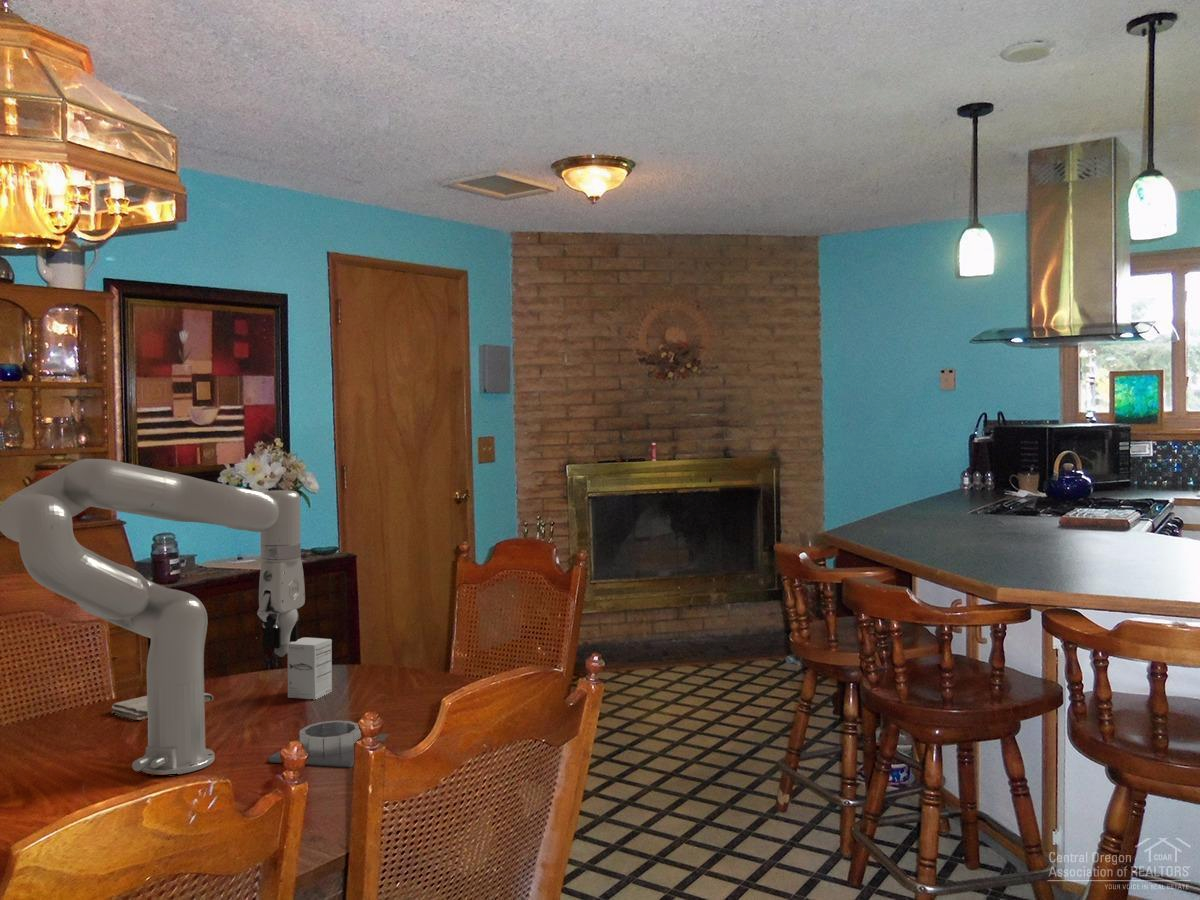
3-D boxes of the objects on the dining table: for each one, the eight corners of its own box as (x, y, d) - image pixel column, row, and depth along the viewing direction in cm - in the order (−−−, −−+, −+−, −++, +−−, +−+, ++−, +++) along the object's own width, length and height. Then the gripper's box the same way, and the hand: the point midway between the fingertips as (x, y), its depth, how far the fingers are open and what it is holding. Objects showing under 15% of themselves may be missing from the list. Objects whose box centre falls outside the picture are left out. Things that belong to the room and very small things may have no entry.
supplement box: (286, 698, 218) (285, 643, 218) (305, 690, 225) (304, 636, 225) (315, 700, 216) (314, 644, 216) (333, 692, 223) (332, 637, 223)
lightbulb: (258, 658, 189) (258, 601, 189) (281, 652, 194) (281, 597, 194) (280, 661, 186) (280, 604, 186) (304, 655, 191) (304, 599, 191)
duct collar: (350, 767, 172) (350, 745, 172) (269, 762, 176) (269, 740, 176) (387, 739, 188) (387, 719, 188) (312, 735, 191) (312, 715, 191)
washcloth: (107, 716, 207) (106, 702, 207) (182, 696, 222) (182, 683, 222) (139, 725, 201) (138, 710, 201) (214, 704, 216) (214, 690, 216)
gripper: (274, 558, 180) (275, 654, 181) (319, 548, 197) (319, 636, 197) (238, 557, 182) (239, 653, 182) (286, 547, 199) (286, 635, 199)
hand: (281, 643), depth 190 cm, fingers closed on lightbulb, 5 cm apart
